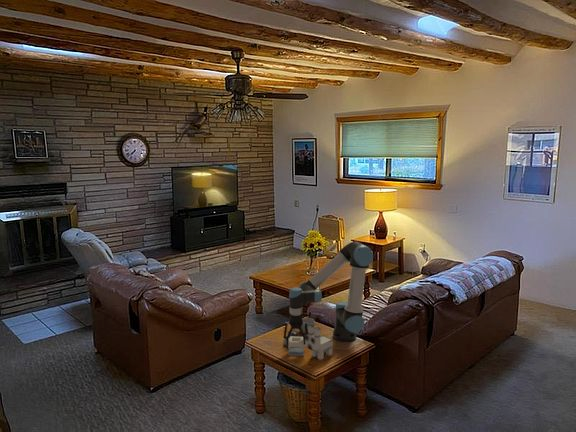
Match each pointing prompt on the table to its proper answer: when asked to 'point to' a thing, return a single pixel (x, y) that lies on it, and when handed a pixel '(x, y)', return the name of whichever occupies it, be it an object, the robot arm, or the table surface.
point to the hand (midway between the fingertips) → (296, 349)
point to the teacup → (309, 322)
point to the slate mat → (296, 351)
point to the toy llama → (318, 343)
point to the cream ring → (296, 341)
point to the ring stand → (293, 333)
